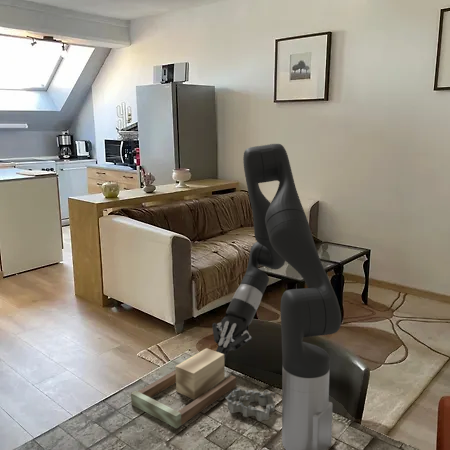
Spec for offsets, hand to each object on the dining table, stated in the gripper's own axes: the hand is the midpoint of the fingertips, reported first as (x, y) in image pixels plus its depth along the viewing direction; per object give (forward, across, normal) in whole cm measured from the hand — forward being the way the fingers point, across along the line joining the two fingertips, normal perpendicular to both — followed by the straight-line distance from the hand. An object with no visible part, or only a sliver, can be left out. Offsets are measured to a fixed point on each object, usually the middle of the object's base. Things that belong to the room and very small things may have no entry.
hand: (217, 361), depth 122 cm
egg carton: (+8, +16, -2) cm, 18 cm away
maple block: (+7, 0, -2) cm, 8 cm away
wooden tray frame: (+11, 0, -6) cm, 12 cm away
